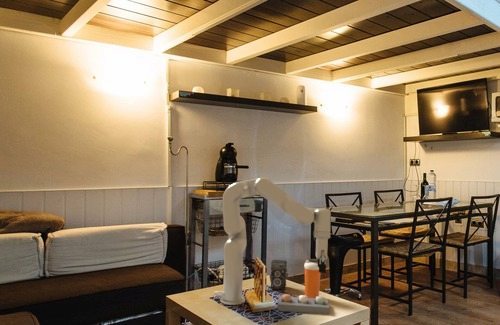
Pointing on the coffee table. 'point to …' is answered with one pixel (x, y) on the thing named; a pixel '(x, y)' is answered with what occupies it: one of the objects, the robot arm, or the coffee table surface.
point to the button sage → (320, 300)
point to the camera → (278, 274)
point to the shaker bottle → (312, 278)
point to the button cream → (303, 299)
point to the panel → (303, 306)
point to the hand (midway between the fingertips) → (321, 269)
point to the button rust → (286, 298)
